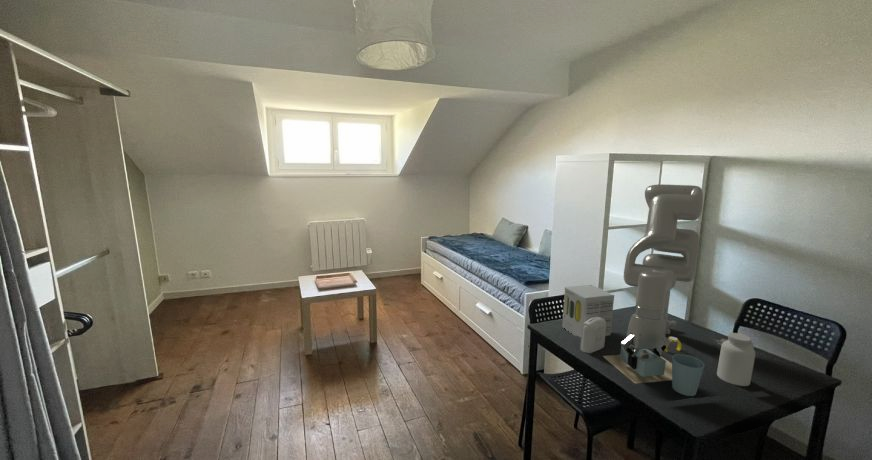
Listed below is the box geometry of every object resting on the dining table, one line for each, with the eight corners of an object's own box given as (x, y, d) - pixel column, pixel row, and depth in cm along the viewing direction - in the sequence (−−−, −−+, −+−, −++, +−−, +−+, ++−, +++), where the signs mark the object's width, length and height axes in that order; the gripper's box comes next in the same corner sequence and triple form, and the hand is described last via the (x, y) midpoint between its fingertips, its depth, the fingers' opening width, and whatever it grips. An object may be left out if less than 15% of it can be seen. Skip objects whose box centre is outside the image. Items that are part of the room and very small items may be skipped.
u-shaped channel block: (664, 374, 108) (665, 360, 107) (642, 376, 107) (644, 362, 106) (639, 357, 118) (640, 344, 117) (619, 358, 117) (621, 345, 116)
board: (654, 355, 126) (656, 334, 124) (693, 381, 110) (696, 358, 109) (602, 359, 123) (604, 338, 121) (634, 387, 107) (637, 363, 106)
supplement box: (561, 327, 148) (563, 286, 145) (588, 323, 151) (591, 284, 148) (582, 342, 135) (585, 298, 132) (611, 338, 138) (615, 294, 135)
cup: (689, 386, 107) (694, 354, 106) (706, 402, 100) (711, 368, 98) (663, 384, 108) (666, 353, 106) (677, 400, 101) (681, 367, 99)
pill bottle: (727, 388, 107) (734, 341, 104) (710, 373, 114) (717, 329, 112) (756, 390, 106) (764, 343, 103) (737, 375, 113) (745, 331, 111)
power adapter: (712, 352, 127) (714, 337, 126) (709, 346, 132) (711, 332, 131) (752, 360, 122) (755, 344, 121) (748, 354, 127) (750, 338, 126)
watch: (667, 357, 125) (668, 341, 124) (661, 353, 128) (662, 337, 127) (682, 354, 126) (683, 339, 125) (676, 350, 128) (677, 335, 127)
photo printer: (594, 344, 133) (597, 313, 131) (605, 349, 129) (608, 317, 127) (577, 352, 127) (580, 319, 125) (588, 357, 124) (591, 324, 122)
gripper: (664, 305, 114) (658, 357, 117) (615, 308, 111) (610, 361, 114) (684, 315, 106) (677, 370, 109) (631, 318, 104) (626, 374, 107)
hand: (643, 365), depth 112 cm, fingers closed on u-shaped channel block, 7 cm apart
